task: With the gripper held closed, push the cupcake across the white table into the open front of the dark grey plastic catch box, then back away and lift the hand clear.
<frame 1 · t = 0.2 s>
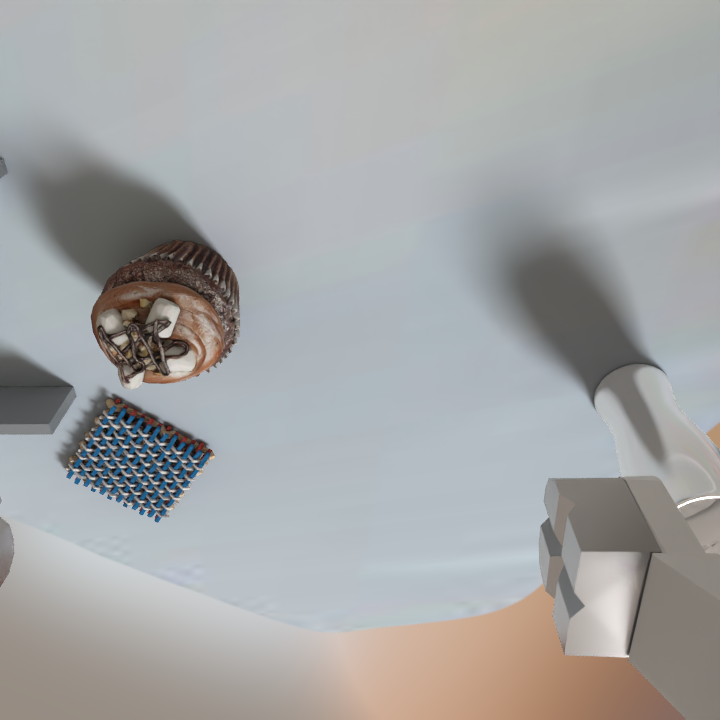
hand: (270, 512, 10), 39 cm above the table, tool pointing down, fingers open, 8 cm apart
beer glass: (630, 392, 56), on the table
woven mat: (142, 454, 62), on the table
cupcake: (187, 287, 52), on the table
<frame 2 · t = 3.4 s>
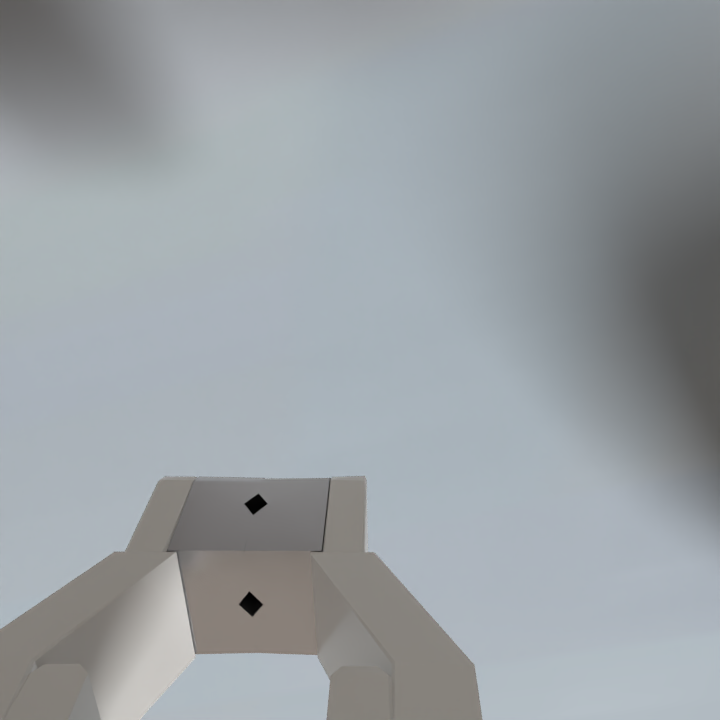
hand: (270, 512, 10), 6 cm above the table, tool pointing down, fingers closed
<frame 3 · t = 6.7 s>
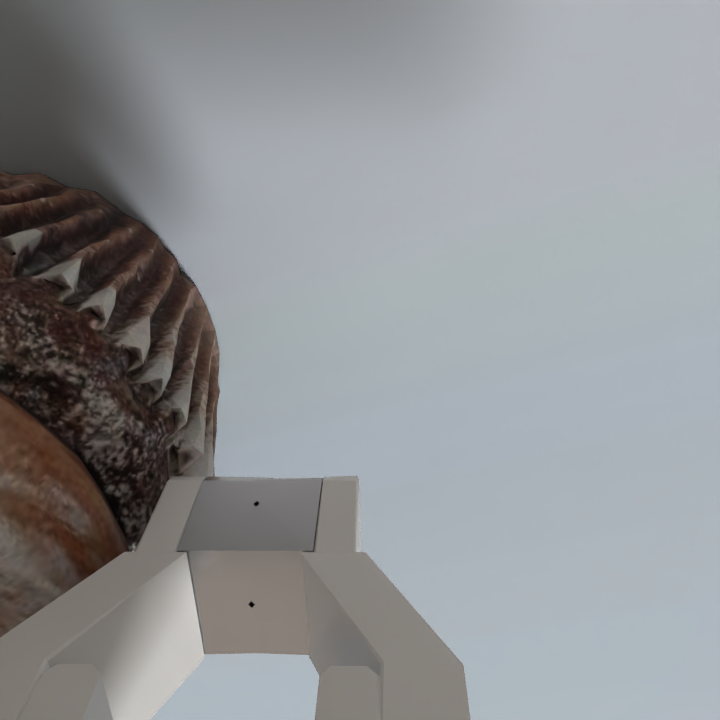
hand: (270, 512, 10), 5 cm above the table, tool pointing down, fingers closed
cupcake: (43, 347, 15), on the table, touching gripper
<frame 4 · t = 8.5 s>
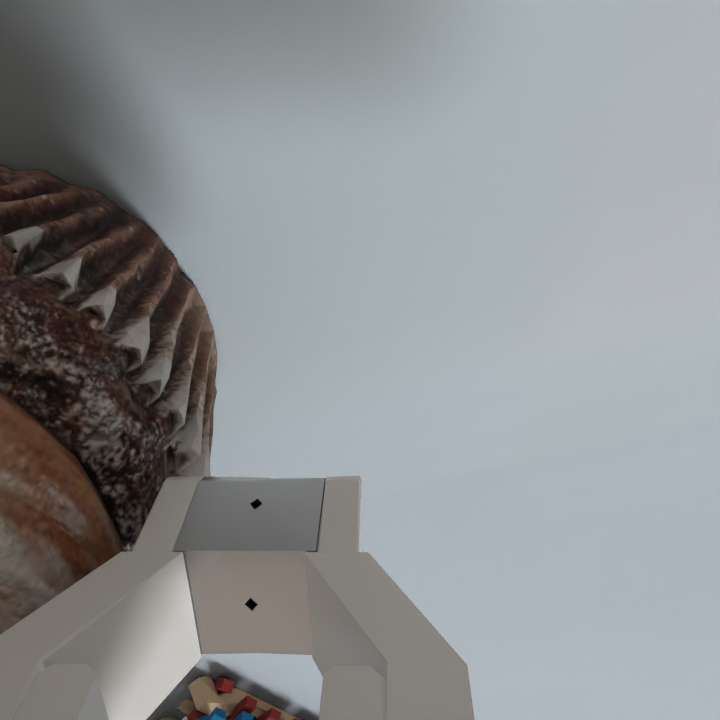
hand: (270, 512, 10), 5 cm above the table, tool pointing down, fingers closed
cupcake: (40, 343, 15), on the table, touching gripper
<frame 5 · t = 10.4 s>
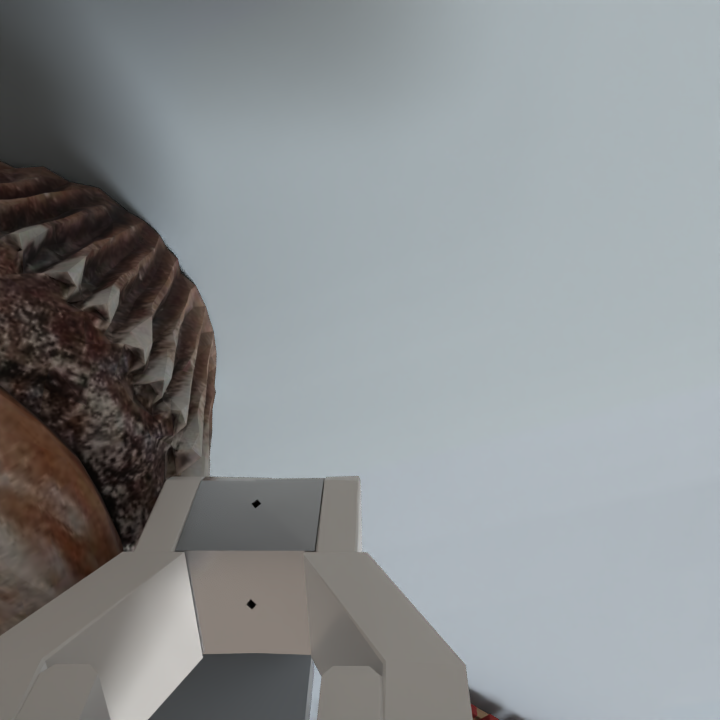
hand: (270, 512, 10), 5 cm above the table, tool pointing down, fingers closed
cupcake: (38, 341, 15), on the table, touching gripper
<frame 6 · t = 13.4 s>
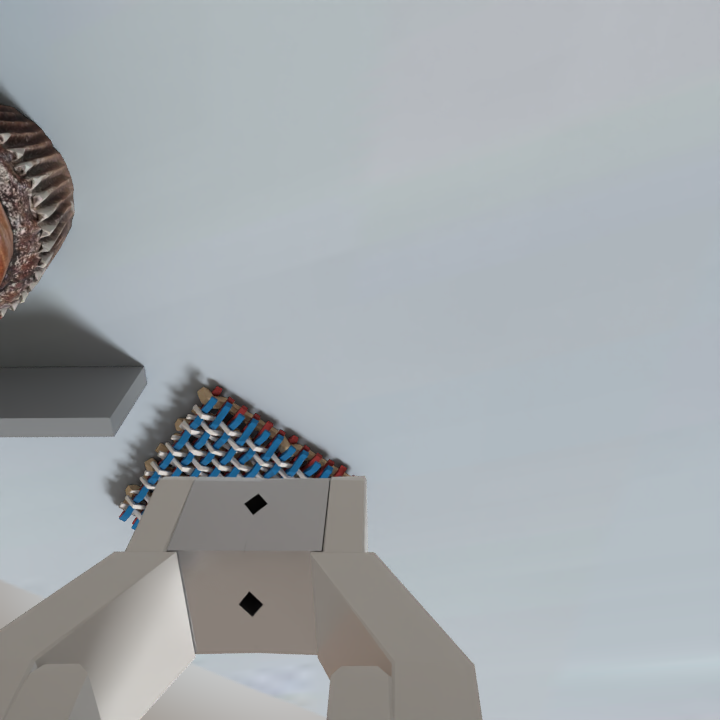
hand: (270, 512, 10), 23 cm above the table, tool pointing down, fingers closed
woven mat: (240, 484, 39), on the table
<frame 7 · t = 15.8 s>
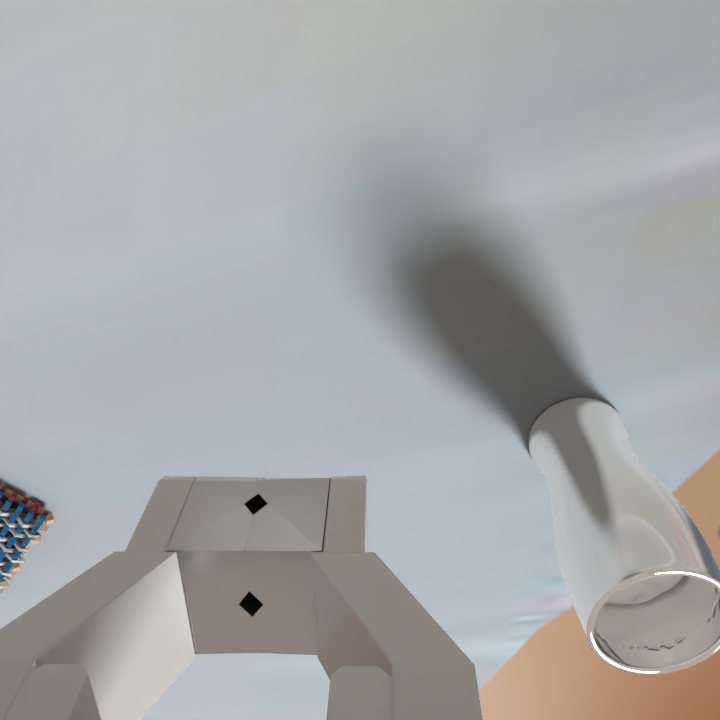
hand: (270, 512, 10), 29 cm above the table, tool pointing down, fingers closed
beer glass: (575, 435, 44), on the table
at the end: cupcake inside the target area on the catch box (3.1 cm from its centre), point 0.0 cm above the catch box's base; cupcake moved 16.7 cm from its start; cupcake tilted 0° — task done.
